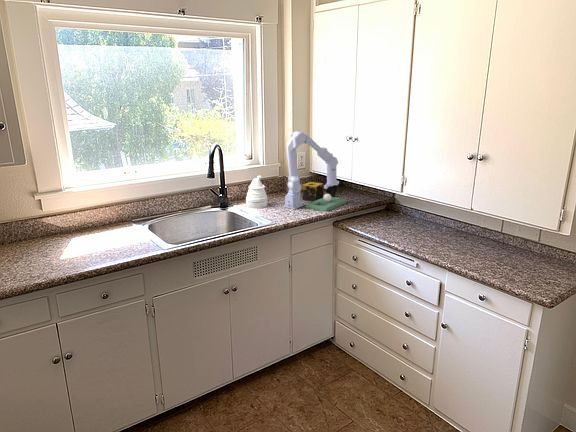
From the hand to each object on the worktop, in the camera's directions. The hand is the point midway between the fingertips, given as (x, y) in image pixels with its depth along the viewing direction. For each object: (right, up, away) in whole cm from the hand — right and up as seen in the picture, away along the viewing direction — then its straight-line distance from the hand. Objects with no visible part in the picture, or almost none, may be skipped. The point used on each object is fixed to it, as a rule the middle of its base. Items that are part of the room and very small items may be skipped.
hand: (331, 197), depth 261 cm
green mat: (-3, -4, -2) cm, 6 cm away
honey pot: (-45, -5, -2) cm, 46 cm away
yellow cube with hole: (-11, -1, +10) cm, 15 cm away
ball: (-3, 0, -4) cm, 5 cm away
